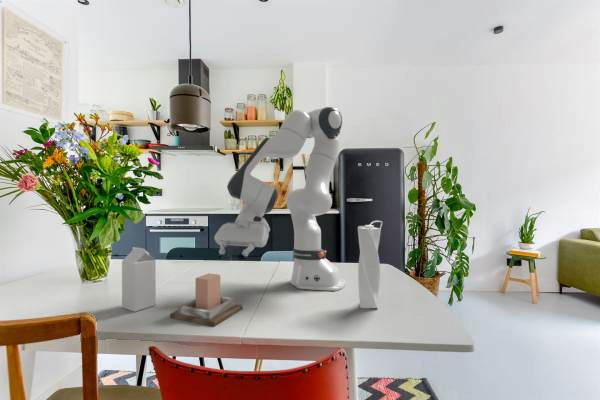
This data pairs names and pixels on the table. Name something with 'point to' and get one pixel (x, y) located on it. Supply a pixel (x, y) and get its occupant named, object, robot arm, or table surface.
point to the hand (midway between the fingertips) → (232, 254)
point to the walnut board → (207, 312)
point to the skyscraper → (369, 265)
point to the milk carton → (138, 280)
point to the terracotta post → (208, 291)
